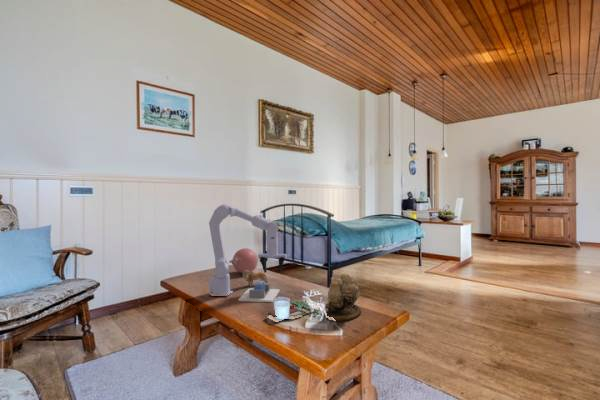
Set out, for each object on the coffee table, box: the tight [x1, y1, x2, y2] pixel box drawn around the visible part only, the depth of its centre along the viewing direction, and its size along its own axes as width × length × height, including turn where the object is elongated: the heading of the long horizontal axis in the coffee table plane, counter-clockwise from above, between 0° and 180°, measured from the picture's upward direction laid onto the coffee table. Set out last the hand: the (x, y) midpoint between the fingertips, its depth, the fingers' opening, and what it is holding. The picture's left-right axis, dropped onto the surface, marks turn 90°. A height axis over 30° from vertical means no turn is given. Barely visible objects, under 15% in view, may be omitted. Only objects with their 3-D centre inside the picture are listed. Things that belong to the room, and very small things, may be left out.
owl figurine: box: [324, 272, 362, 323], centre depth 122 cm, size 18×12×17 cm, turn 131°
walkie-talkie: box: [267, 303, 304, 317], centre depth 122 cm, size 9×4×20 cm
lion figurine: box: [242, 270, 269, 288], centre depth 163 cm, size 15×5×9 cm, turn 124°
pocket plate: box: [238, 283, 280, 303], centre depth 146 cm, size 16×16×4 cm
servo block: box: [253, 280, 266, 291], centre depth 146 cm, size 4×12×5 cm, turn 172°
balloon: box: [228, 247, 259, 274], centre depth 185 cm, size 15×20×15 cm
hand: (272, 272), depth 152 cm, fingers open, 7 cm apart
